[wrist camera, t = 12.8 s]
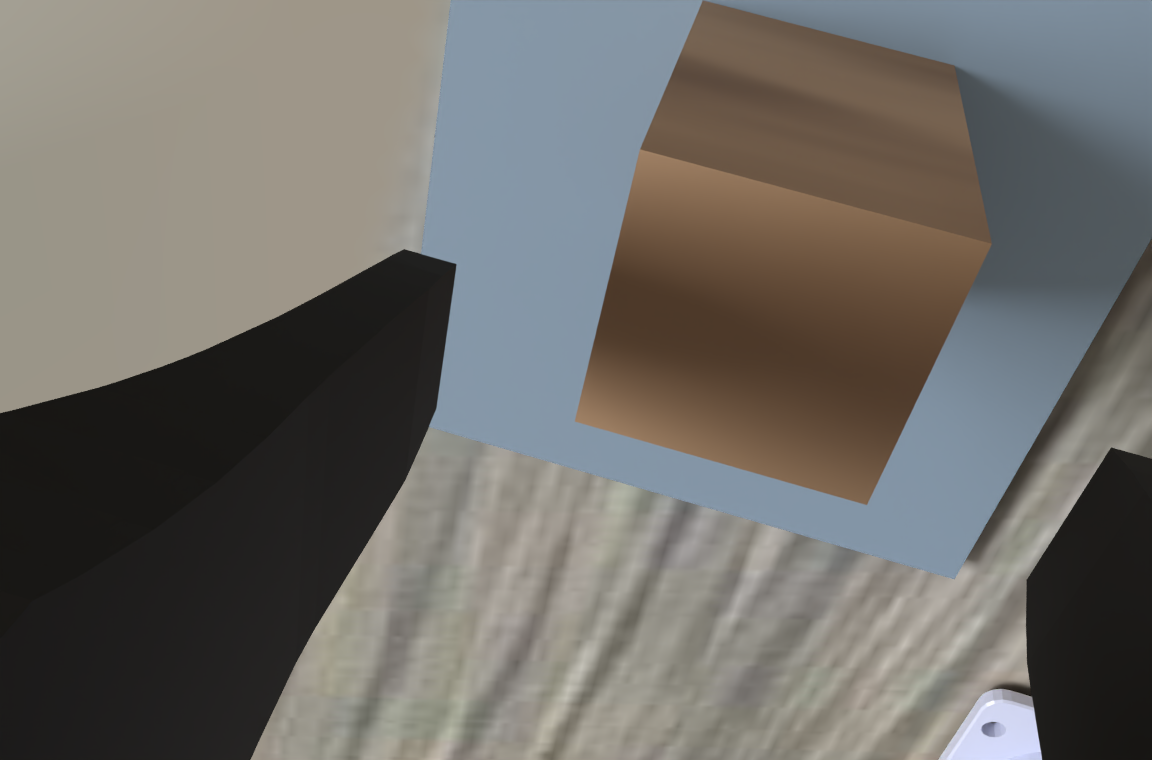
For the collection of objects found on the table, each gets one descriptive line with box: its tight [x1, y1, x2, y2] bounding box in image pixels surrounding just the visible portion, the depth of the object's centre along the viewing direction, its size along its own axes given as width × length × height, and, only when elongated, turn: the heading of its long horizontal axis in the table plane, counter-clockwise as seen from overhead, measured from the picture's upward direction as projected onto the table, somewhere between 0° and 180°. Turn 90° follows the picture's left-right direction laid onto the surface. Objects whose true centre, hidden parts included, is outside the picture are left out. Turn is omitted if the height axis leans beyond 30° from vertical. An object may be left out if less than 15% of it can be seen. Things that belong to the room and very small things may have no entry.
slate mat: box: [421, 0, 1152, 579], centre depth 18 cm, size 16×12×1 cm
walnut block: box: [575, 1, 992, 505], centre depth 16 cm, size 4×4×6 cm
